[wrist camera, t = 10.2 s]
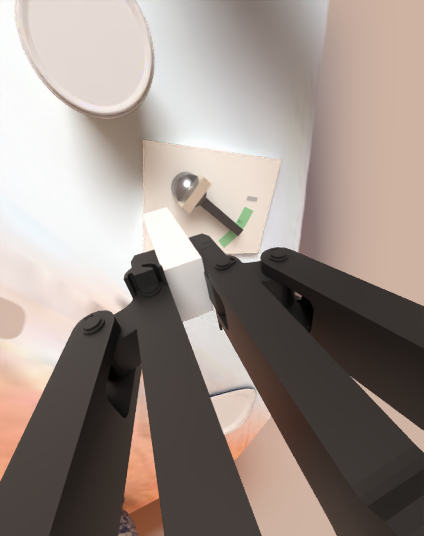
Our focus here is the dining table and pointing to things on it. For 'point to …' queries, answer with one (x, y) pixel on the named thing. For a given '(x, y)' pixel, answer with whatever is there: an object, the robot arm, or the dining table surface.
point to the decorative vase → (127, 525)
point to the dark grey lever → (199, 198)
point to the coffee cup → (89, 52)
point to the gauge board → (211, 192)
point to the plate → (233, 408)
